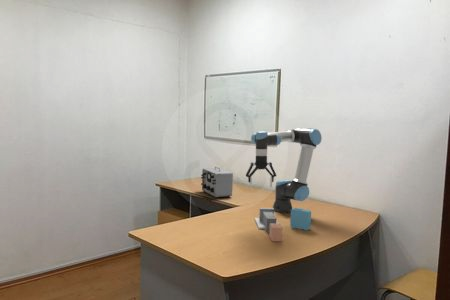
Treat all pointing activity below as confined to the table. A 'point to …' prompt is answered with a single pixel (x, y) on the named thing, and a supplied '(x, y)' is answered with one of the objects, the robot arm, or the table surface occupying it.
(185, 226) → the table surface
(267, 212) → the grey flanged post
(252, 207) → the table surface
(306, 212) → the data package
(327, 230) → the table surface
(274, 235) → the pink block
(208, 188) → the vintage electronic device
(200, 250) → the table surface
